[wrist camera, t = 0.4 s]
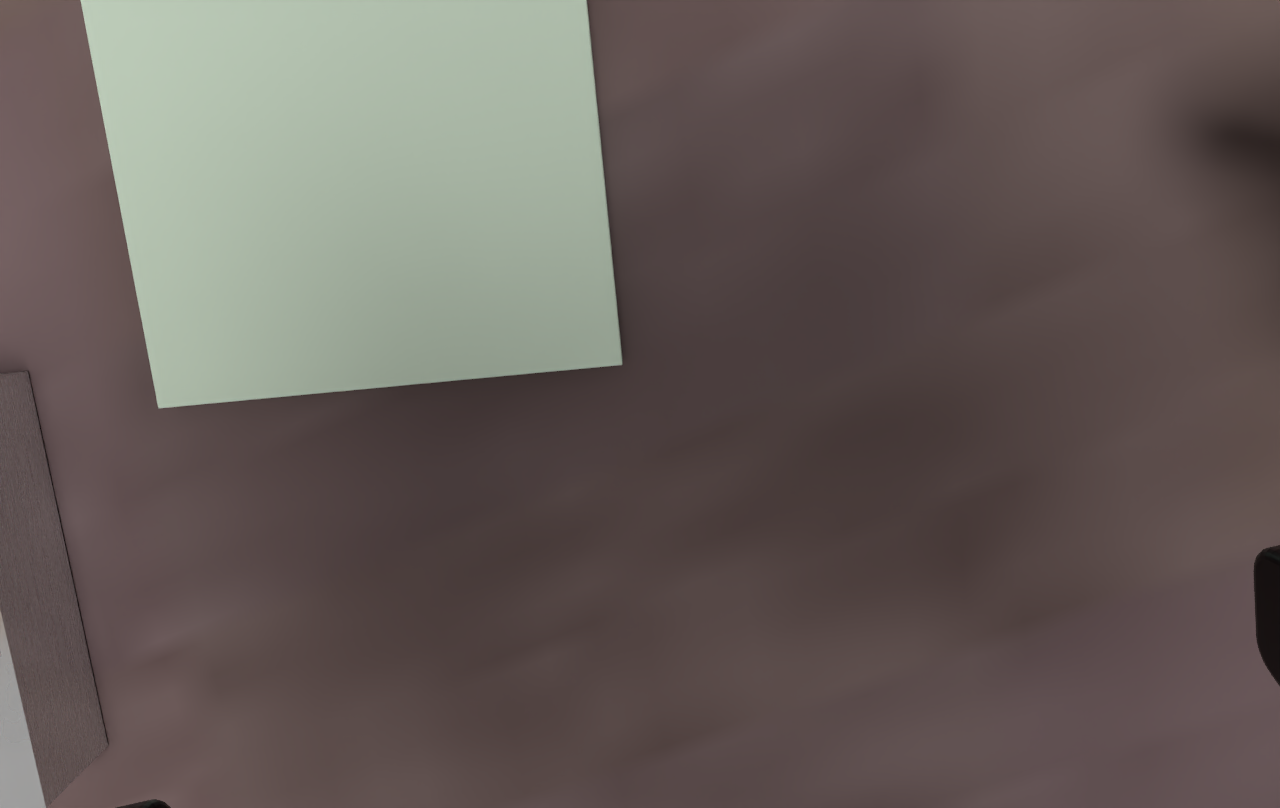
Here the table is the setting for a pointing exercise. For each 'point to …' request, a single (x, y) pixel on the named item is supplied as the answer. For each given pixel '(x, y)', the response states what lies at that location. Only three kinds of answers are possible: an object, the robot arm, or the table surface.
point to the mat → (357, 191)
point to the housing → (38, 623)
